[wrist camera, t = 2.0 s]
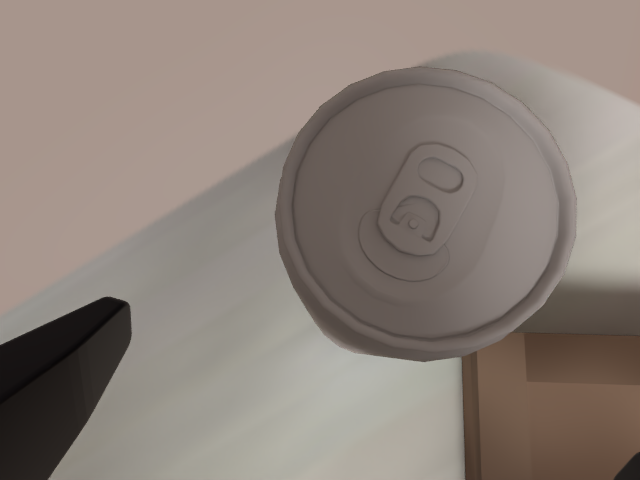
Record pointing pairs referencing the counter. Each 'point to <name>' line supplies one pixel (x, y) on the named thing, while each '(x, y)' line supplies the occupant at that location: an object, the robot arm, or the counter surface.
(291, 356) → the counter surface
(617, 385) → the walnut tray
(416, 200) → the beverage can
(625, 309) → the counter surface
